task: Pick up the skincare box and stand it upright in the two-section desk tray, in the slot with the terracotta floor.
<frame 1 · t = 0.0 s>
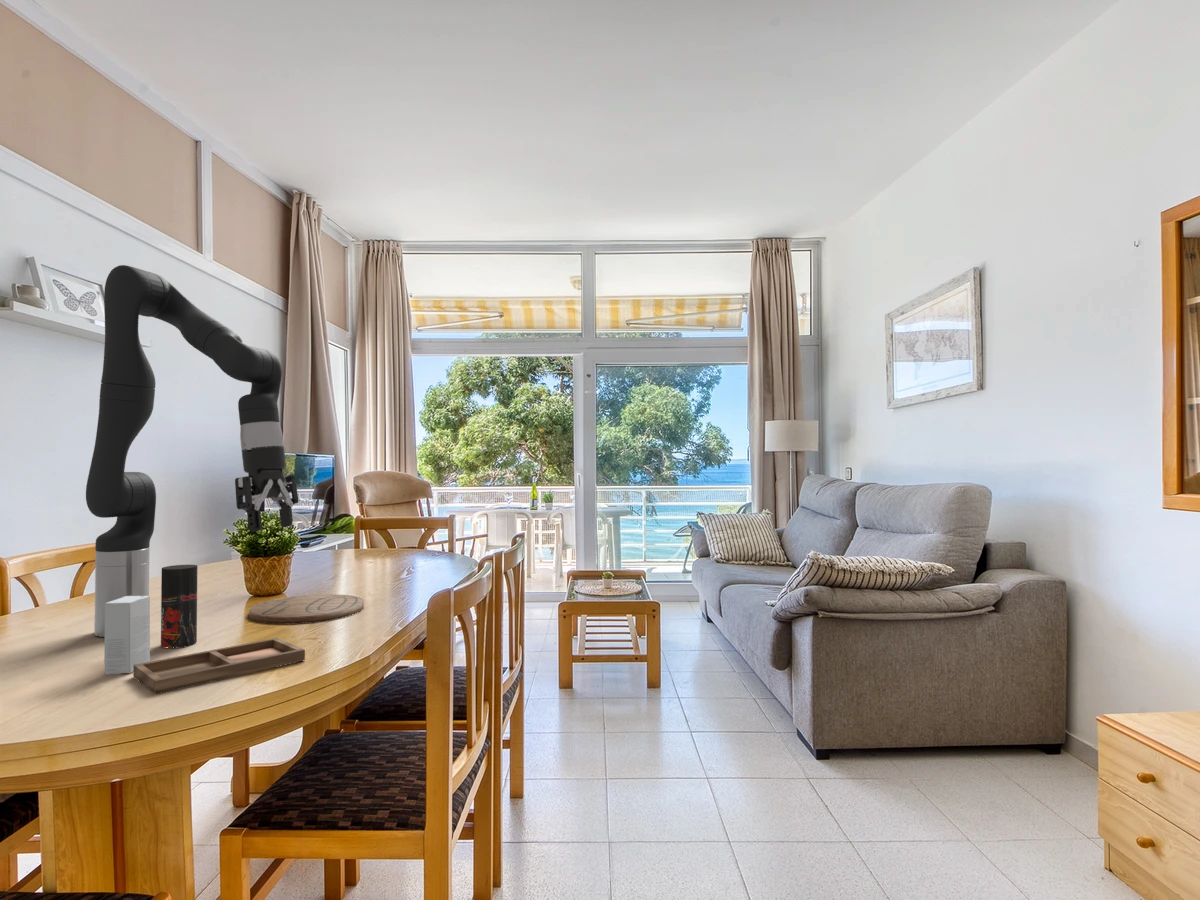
hand: (272, 528, 132), 22 cm above the table, tool pointing down, fingers open, 8 cm apart
two-section desk tray: (222, 668, 116), on the table
deodorant: (178, 645, 131), on the table
skincare box: (127, 670, 116), on the table
trivet: (308, 613, 160), on the table
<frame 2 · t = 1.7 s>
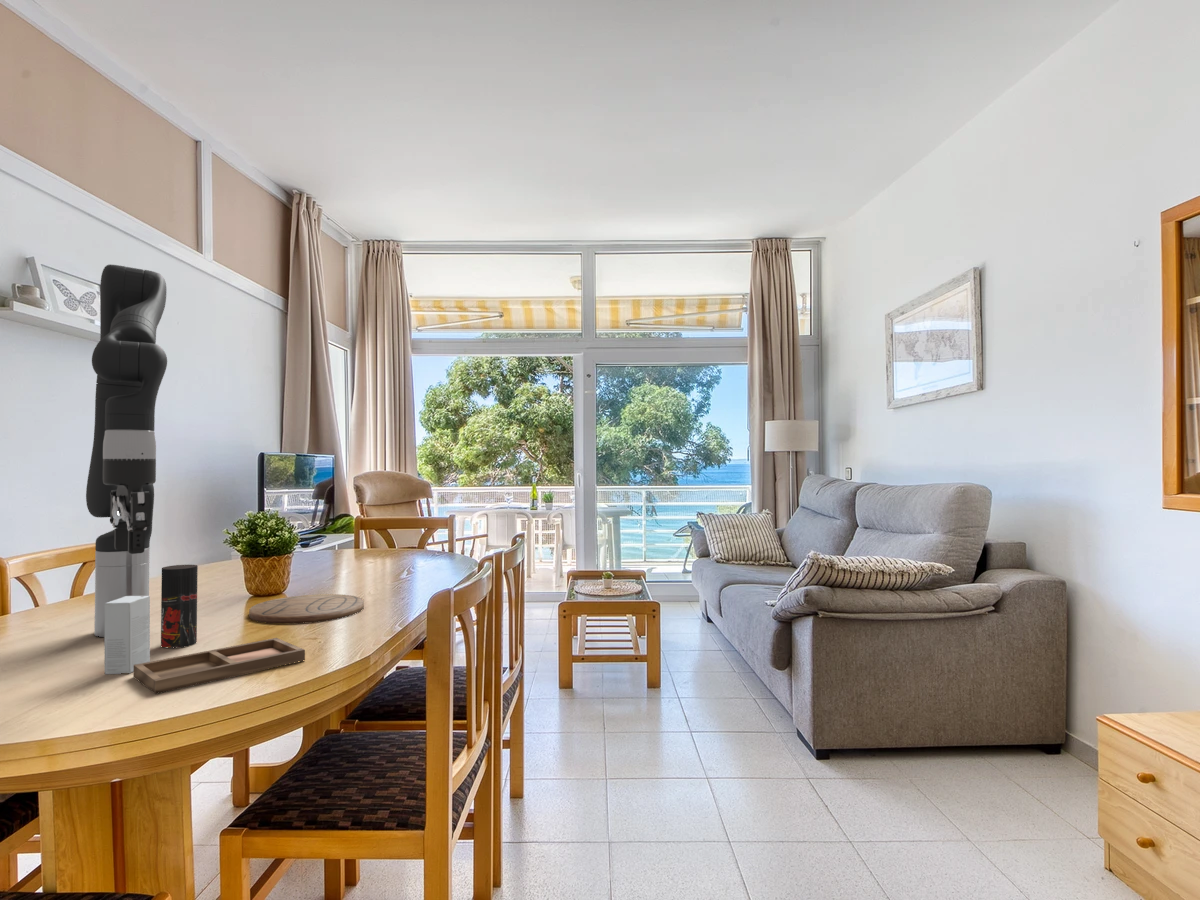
hand: (129, 551, 116), 20 cm above the table, tool pointing down, fingers open, 8 cm apart
nothing on the table moved.
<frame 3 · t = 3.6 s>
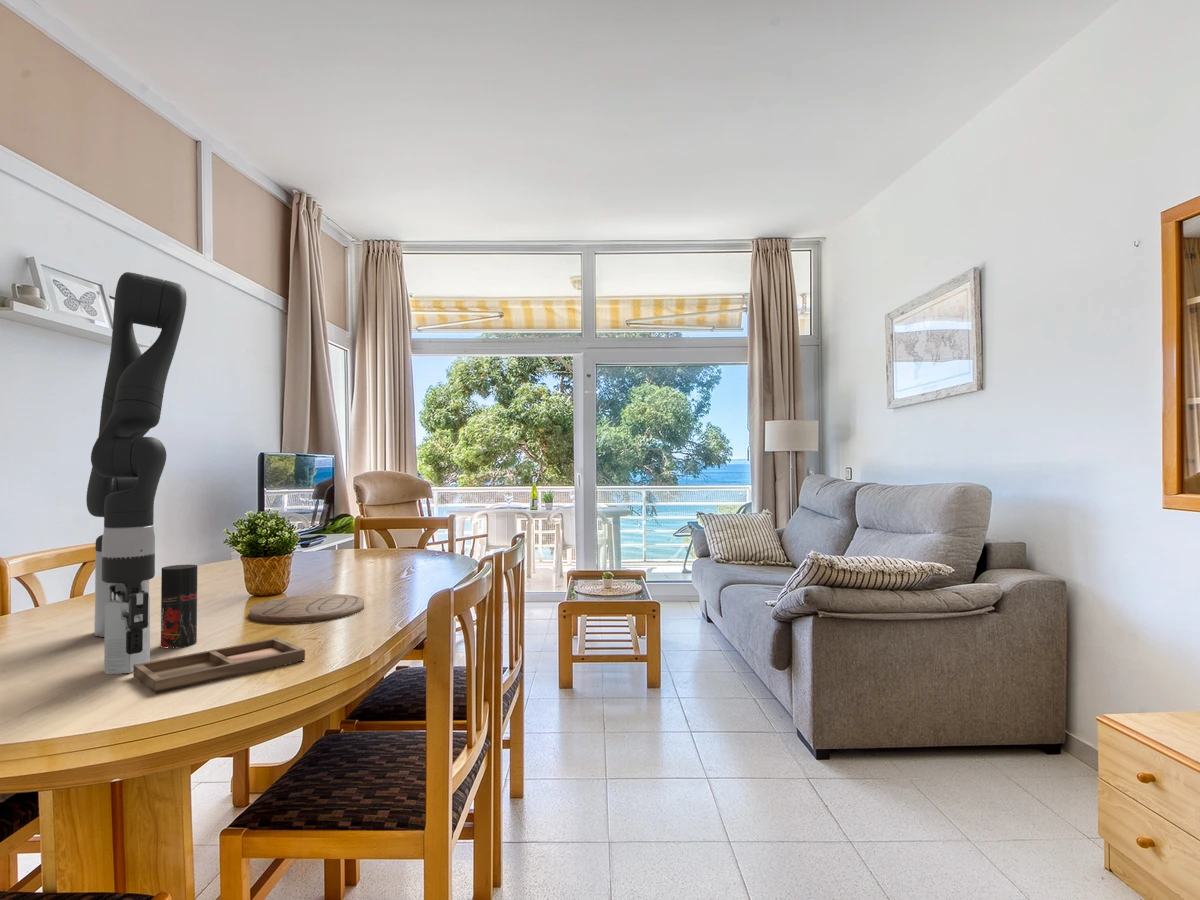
hand: (127, 648, 116), 3 cm above the table, tool pointing down, fingers closed on skincare box, 7 cm apart
skincare box: (127, 670, 116), on the table, touching gripper
everything else where it was.
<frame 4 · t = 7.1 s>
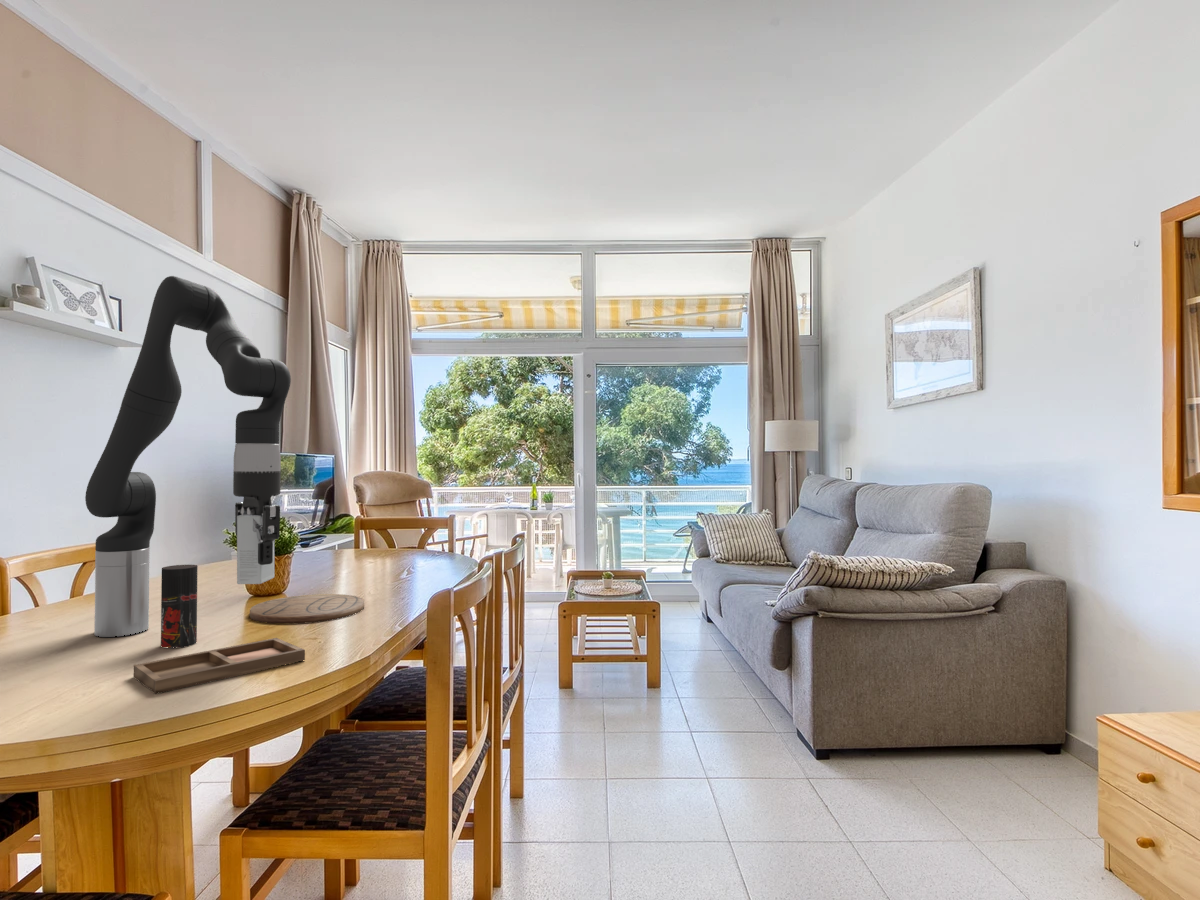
hand: (256, 561, 120), 18 cm above the table, tool pointing down, fingers closed on skincare box, 7 cm apart
skincare box: (255, 582, 120), point 14 cm above the table, touching gripper
everything else where it was.
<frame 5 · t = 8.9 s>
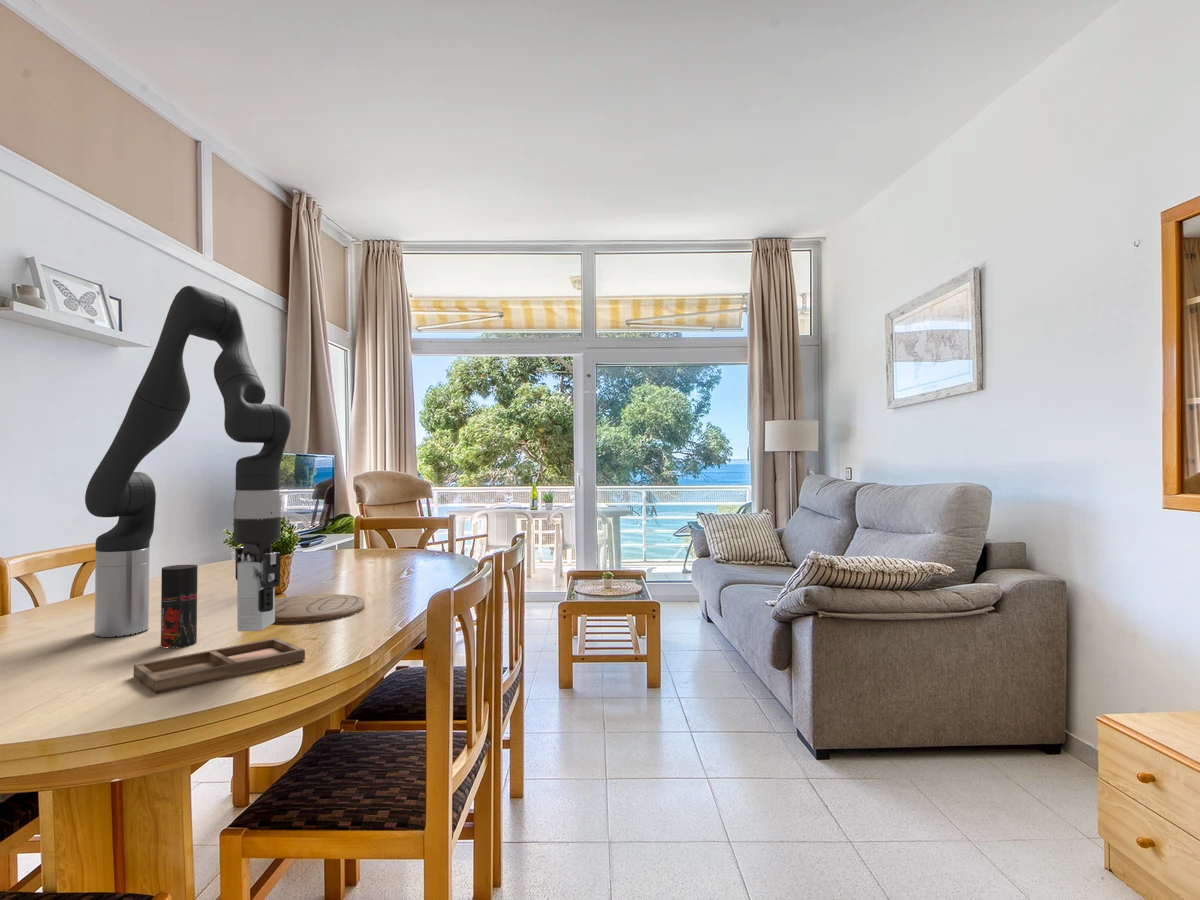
hand: (256, 607, 120), 9 cm above the table, tool pointing down, fingers closed on skincare box, 7 cm apart
skincare box: (256, 628, 120), point 6 cm above the table, touching gripper
everything else where it was.
when the fingers open (5 cm above the table, at t = 10.6 s): skincare box drops 1 cm, resting on two-section desk tray.
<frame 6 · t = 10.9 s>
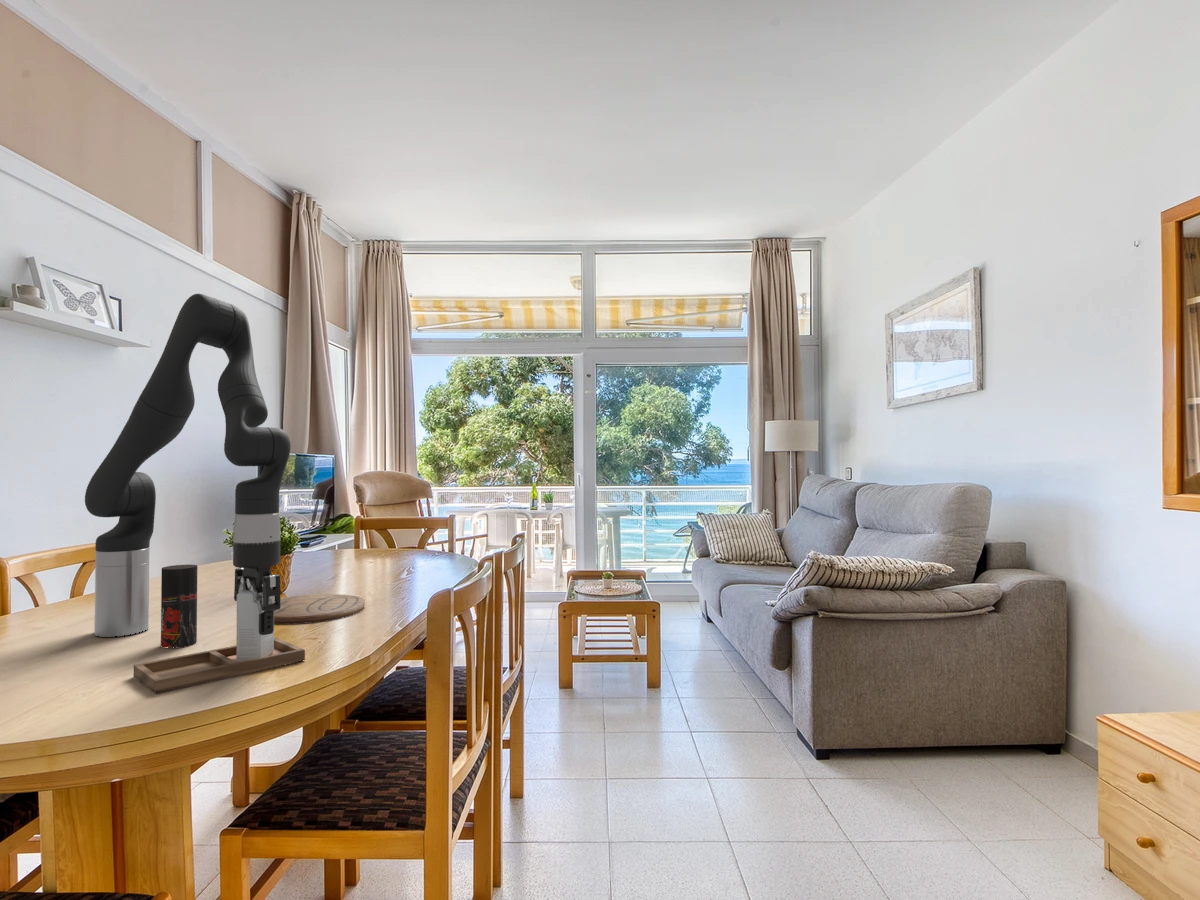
hand: (256, 630, 120), 6 cm above the table, tool pointing down, fingers open, 8 cm apart
skincare box: (255, 658, 120), point 1 cm above the table, touching two-section desk tray
everything else where it was.
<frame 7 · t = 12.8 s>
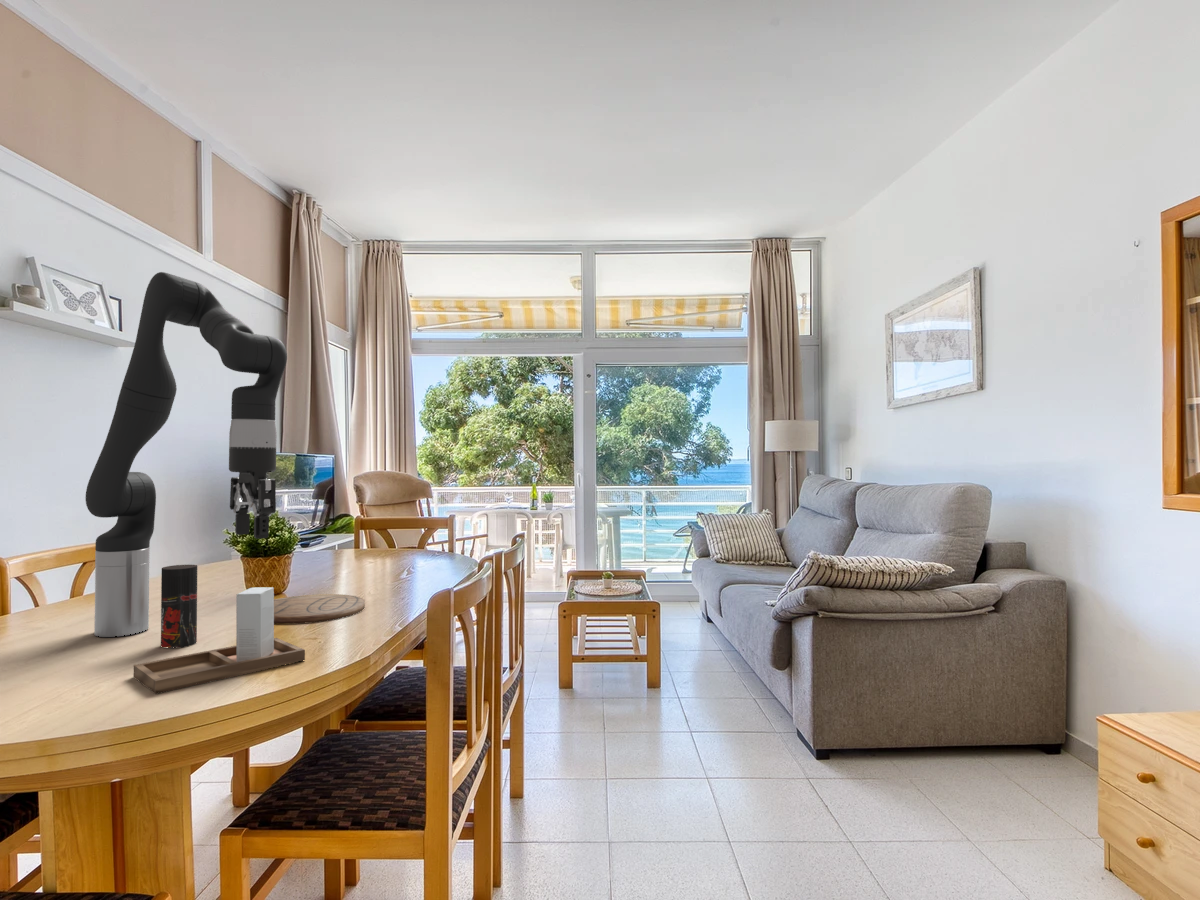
hand: (251, 536, 120), 22 cm above the table, tool pointing down, fingers open, 8 cm apart
nothing on the table moved.
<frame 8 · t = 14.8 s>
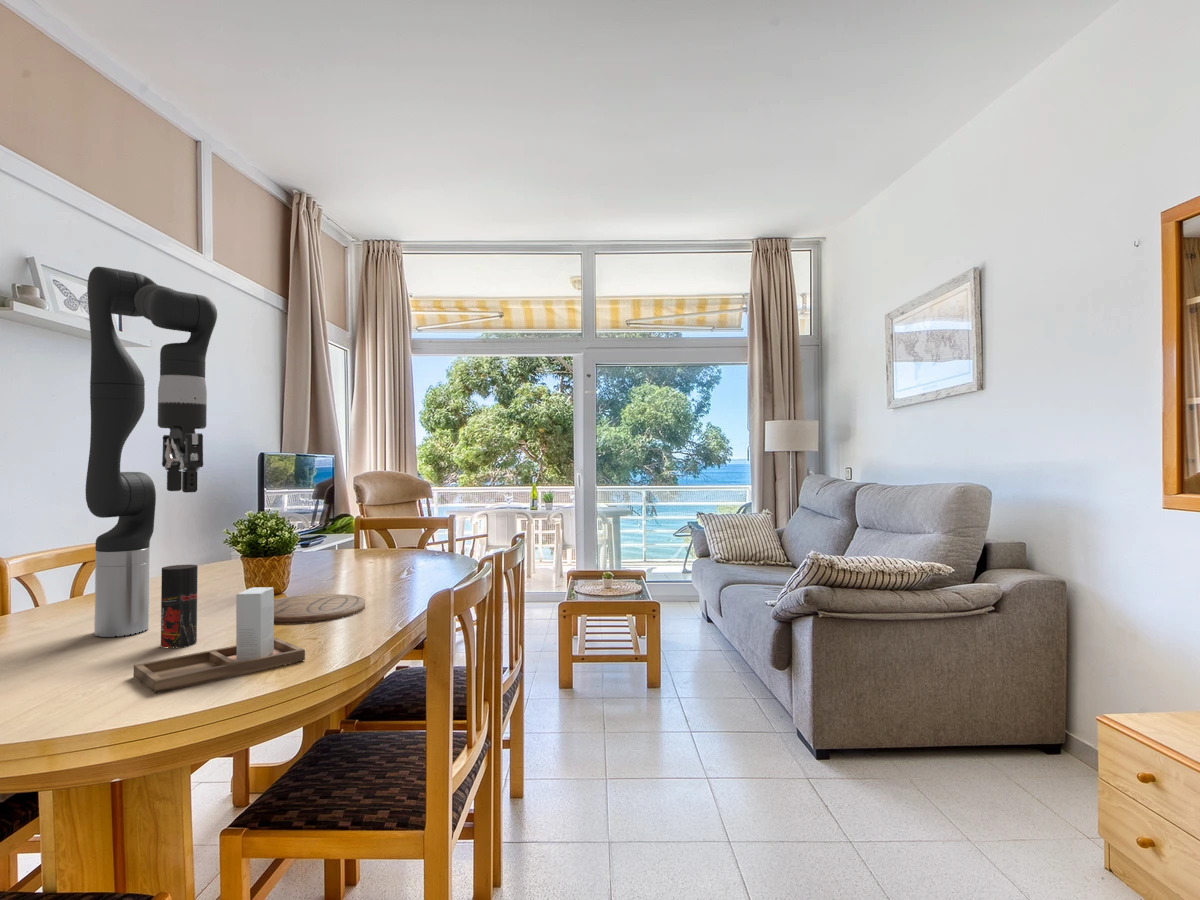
hand: (181, 491, 122), 30 cm above the table, tool pointing down, fingers open, 8 cm apart
nothing on the table moved.
at the end: skincare box 0.2 cm from the target spot on the two-section desk tray, point 0.5 cm above the two-section desk tray's base; skincare box tilted 0°; the gripper is holding nothing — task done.
